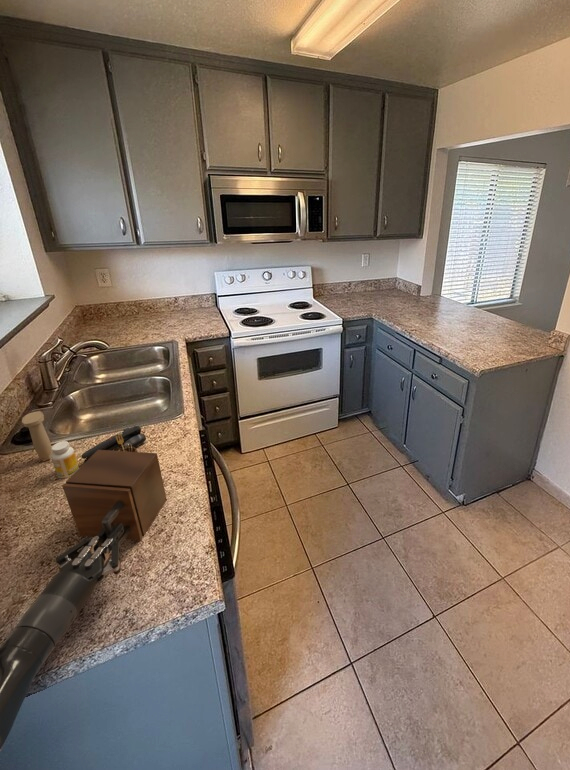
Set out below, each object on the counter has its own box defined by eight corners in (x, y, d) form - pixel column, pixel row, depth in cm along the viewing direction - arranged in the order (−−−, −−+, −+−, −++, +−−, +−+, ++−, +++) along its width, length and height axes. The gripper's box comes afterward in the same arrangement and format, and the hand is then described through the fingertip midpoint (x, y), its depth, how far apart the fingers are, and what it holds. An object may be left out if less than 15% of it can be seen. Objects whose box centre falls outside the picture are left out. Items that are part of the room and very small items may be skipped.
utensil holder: (126, 481, 101) (117, 447, 97) (115, 471, 105) (106, 438, 100) (146, 469, 106) (138, 436, 101) (135, 460, 109) (127, 428, 105)
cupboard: (144, 536, 85) (131, 486, 79) (82, 531, 86) (65, 481, 80) (166, 500, 95) (156, 453, 89) (111, 496, 96) (97, 449, 91)
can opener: (141, 433, 121) (137, 420, 119) (148, 443, 117) (145, 429, 115) (80, 458, 110) (76, 444, 108) (86, 470, 105) (81, 455, 103)
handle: (36, 467, 106) (20, 425, 101) (38, 455, 111) (23, 414, 106) (56, 461, 109) (41, 420, 103) (57, 449, 114) (43, 409, 108)
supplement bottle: (55, 481, 101) (46, 454, 98) (59, 468, 106) (50, 442, 102) (78, 475, 103) (69, 448, 100) (80, 463, 108) (72, 437, 104)
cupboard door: (126, 564, 78) (111, 512, 73) (60, 557, 80) (40, 506, 74) (143, 538, 84) (130, 488, 79) (81, 532, 86) (64, 483, 80)
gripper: (86, 599, 61) (143, 514, 77) (12, 592, 62) (83, 510, 78) (97, 626, 64) (149, 539, 80) (25, 619, 65) (91, 534, 81)
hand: (116, 525), depth 79 cm, fingers closed
